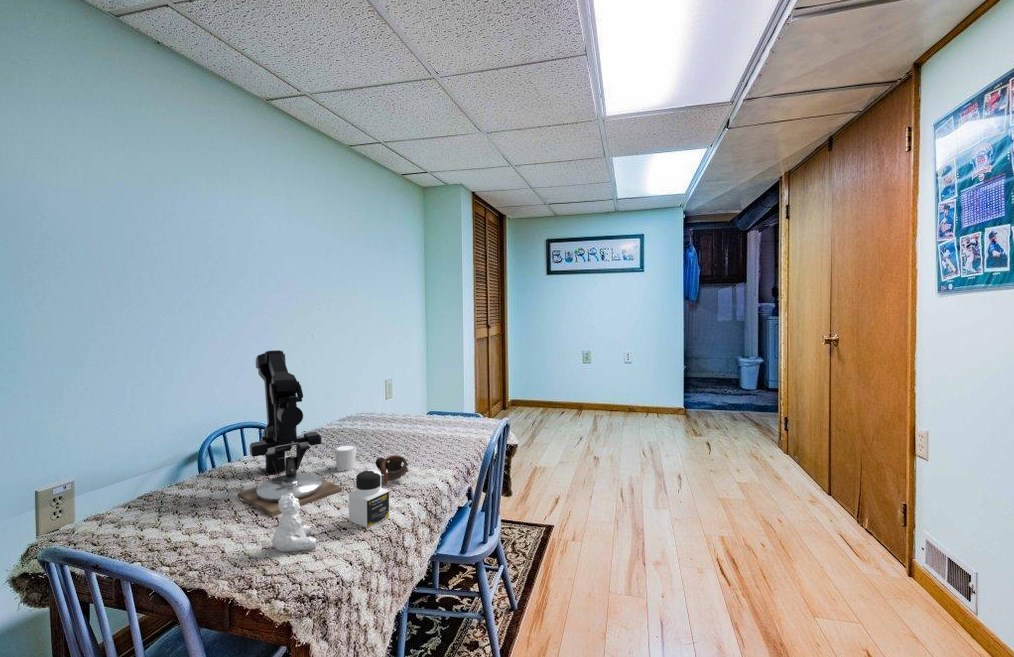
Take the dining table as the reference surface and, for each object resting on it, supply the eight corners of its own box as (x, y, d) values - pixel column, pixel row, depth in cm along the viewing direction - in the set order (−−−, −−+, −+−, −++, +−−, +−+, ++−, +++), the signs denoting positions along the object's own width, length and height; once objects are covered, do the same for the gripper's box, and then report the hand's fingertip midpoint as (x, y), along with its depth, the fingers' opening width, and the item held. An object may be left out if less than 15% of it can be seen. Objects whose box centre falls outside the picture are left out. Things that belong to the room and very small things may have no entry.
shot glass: (342, 473, 143) (342, 452, 142) (330, 468, 147) (330, 448, 147) (360, 467, 148) (360, 447, 148) (349, 463, 152) (348, 443, 152)
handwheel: (253, 506, 115) (253, 479, 115) (259, 483, 130) (259, 460, 130) (323, 495, 122) (323, 470, 122) (321, 474, 137) (321, 452, 137)
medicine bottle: (367, 528, 106) (367, 480, 106) (348, 521, 110) (347, 474, 110) (389, 517, 112) (389, 471, 112) (370, 510, 116) (370, 465, 116)
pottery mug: (414, 475, 143) (414, 457, 139) (398, 497, 136) (397, 480, 131) (383, 462, 146) (382, 444, 142) (365, 483, 139) (363, 465, 134)
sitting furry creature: (318, 549, 97) (318, 495, 97) (275, 561, 92) (274, 505, 92) (309, 531, 105) (309, 482, 104) (268, 542, 100) (268, 490, 99)
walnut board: (237, 497, 124) (237, 493, 124) (305, 476, 140) (305, 472, 140) (272, 516, 112) (272, 512, 112) (341, 491, 128) (341, 487, 128)
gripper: (312, 410, 143) (314, 457, 144) (246, 420, 132) (248, 471, 133) (321, 417, 134) (323, 467, 135) (250, 428, 123) (253, 482, 124)
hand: (287, 471), depth 132 cm, fingers open, 5 cm apart
